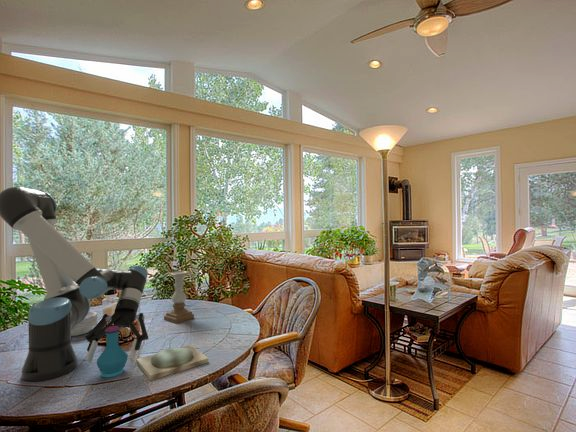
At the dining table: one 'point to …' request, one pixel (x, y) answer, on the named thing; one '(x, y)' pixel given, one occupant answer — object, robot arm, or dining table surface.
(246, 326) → the dining table surface
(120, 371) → the perfume bottle
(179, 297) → the candle holder
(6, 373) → the dining table surface
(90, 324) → the paper bowls
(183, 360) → the birch stand
